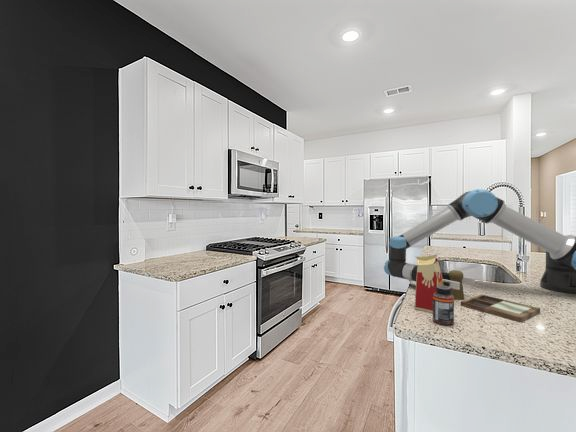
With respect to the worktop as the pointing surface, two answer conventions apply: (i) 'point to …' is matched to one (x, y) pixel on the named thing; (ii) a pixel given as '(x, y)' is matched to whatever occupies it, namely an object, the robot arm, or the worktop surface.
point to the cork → (457, 277)
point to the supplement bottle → (443, 306)
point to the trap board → (501, 307)
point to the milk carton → (427, 282)
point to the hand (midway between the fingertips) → (466, 284)
